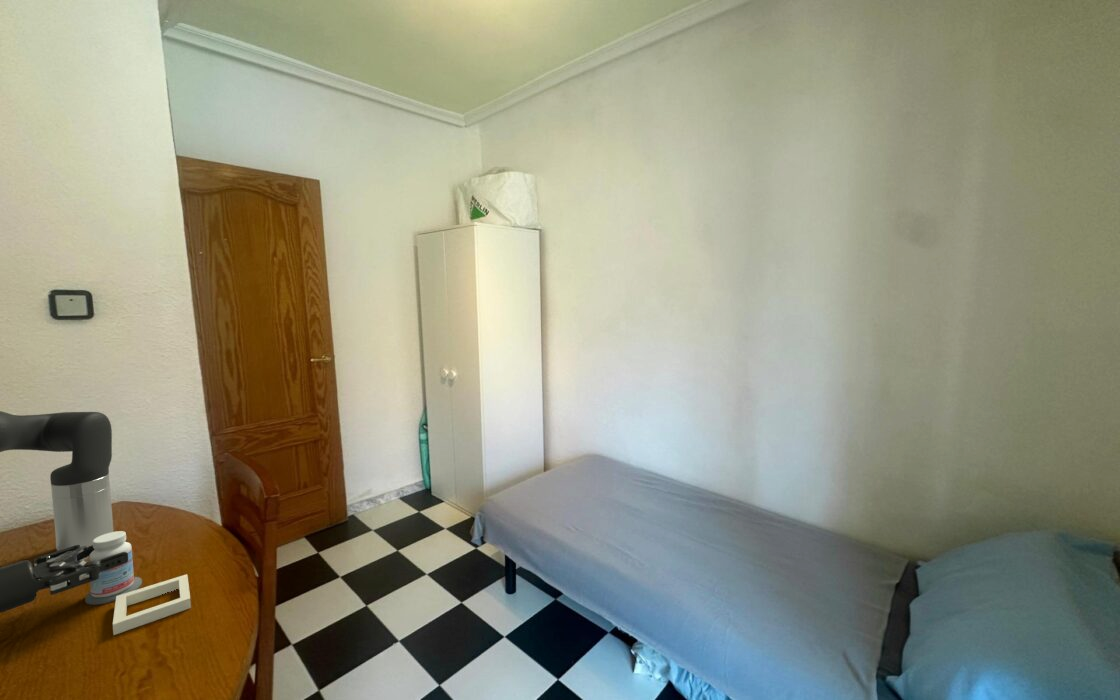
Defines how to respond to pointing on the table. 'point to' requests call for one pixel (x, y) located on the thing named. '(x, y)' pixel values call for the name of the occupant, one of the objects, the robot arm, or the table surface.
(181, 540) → the table surface
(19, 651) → the table surface
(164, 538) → the table surface
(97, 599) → the coaster
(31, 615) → the table surface
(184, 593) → the holder
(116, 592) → the pill bottle
